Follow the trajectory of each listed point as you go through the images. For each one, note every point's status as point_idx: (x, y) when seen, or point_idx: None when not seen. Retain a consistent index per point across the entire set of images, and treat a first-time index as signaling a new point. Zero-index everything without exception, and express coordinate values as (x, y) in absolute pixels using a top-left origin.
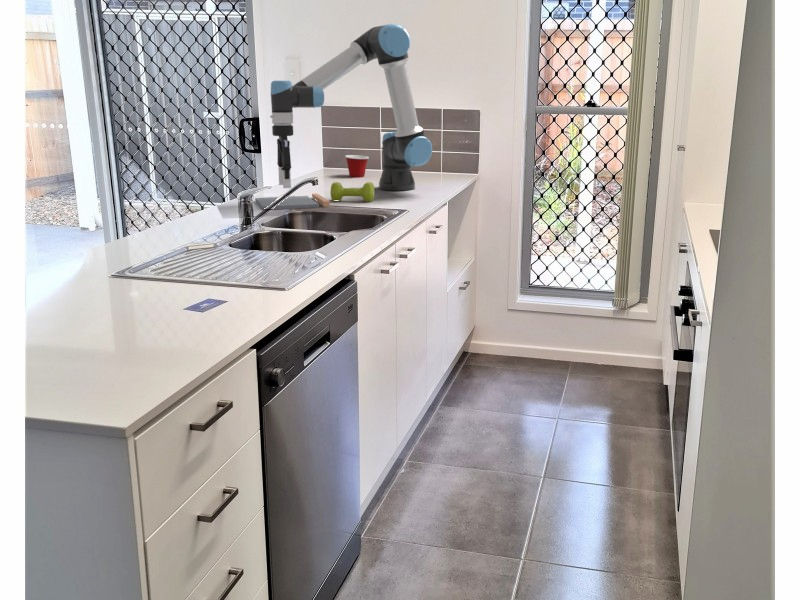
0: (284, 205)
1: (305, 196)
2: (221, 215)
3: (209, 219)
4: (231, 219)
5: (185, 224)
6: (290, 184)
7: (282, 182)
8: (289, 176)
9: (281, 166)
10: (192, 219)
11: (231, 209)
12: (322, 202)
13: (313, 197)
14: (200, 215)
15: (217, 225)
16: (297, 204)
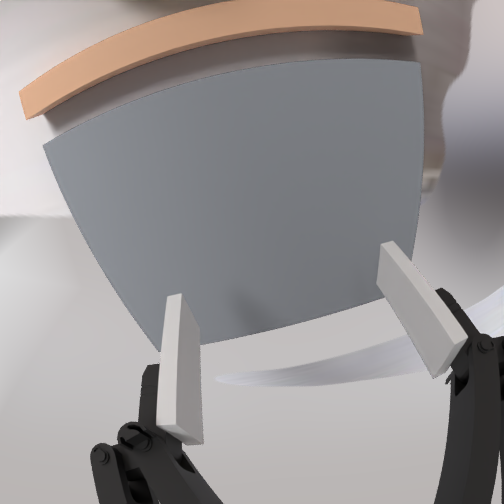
0: (414, 222)
1: (69, 146)
2: None
3: None
4: (472, 307)
5: None
6: (404, 256)
7: (191, 326)
8: (435, 301)
9: (176, 443)
10: None
11: (345, 355)
12: (380, 29)
13: (71, 95)
14: (400, 368)
15: (497, 307)
16: (408, 166)
